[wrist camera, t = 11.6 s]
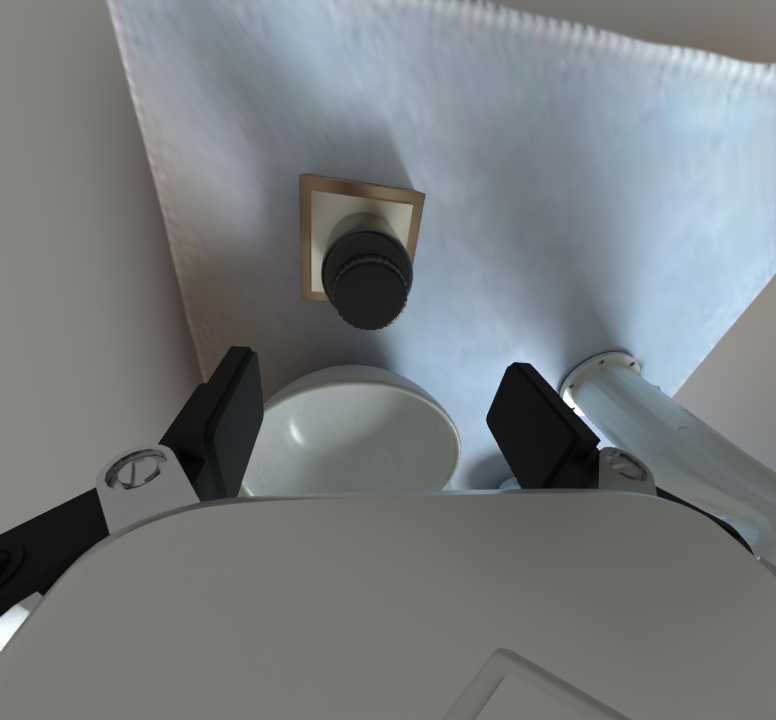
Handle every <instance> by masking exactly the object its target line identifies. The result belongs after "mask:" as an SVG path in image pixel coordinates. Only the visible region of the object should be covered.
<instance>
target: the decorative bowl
mask: <svg viewBox="0 0 776 720" xmlns="http://www.w3.org/2000/svg"><path fill="white" fill-rule="evenodd" d="M263 406H264V418H263V422H262V425H261V428H260V431H259V434H258V437H257V439H256V442H255V445H254V448H253V451H252V454H251V457H250V460H249V463H248V466H247V469H246V472H245V475H244V478H243V481H242V484H241V487H242V488H243V489H244V491H245V492H246V494H247V495H248V496H263V495H287V494H312V493H350V492H390V491H437V490H444V489H445V487H446V486H447V485H448V484H449V482H450V481H451V479H452V478H453V476H454V474H455V472H456V470H457V468H458V465H459V461H460V456H461V441H460V437H459V433H458V430H457V428H456V426H455V424H454V422H453V421H452V419H451V417H450V416H449V415H448V413H447V412H446V411H445V409H444V408H443V407H442V406H441V405H440V404H439V403H438V402H437V401H436V400H435V399H434V398H433V397H432V396H431V395H430V394H429V393H427V392H426V391H425V390H424V389H422V388H421V387H420V386H418V385H417V384H415V383H414V382H412V381H410V380H409V379H407V378H405V377H403V376H401V375H399V374H397V373H394V372H391V371H389V370H385V369H382V368H378V367H373V366H366V365H341V366H334V367H329V368H325V369H321V370H318V371H315V372H312V373H310V374H307V375H305V376H303V377H301V378H299V379H297V380H295V381H293V382H291V383H290V384H288V385H287V386H285V387H284V388H282V389H281V390H280V391H278V392H277V393H276V394H275V395H273V396H272V397H271V398H270V399H269V400H268V401H267V402H266V403H264V404H263Z"/></svg>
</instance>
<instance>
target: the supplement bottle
mask: <svg viewBox="0 0 776 720" xmlns="http://www.w3.org/2000/svg"><path fill="white" fill-rule="evenodd" d="M321 281H322V286H323V289H324V292H325V294H326V296H327V298H328V299H329V301H330V302H331V303H332V305H333V306H334V307H335V308H336V309H337V310H338V313H339V315H340V316H342V318H343V320H345V321H347V322H348V324H350V325H353V326H354V327H356V328H360V329H366V330H376V329H382V328H383V327H386V326H389V324H391V323H394V321H395V320H396V319H398V318H399V315H400V314H402V313H403V309H404V308H405V307H406V304H405V303H406V302H407V297H408V295H409V293H410V290H411V287H412V282H413V267H412V263H411V260H410V257H409V254H408V252H407V251H406V249H405V247H404V246H403V244H402V242H401V241H400V239H399V238H398V236H397V234H396V233H395V231H394V230H393V228H392V227H391V226H390V225H389V224H388V223H387V222H386V221H385V220H384V219H382V218H381V217H379V216H377V215H375V214H372V213H367V212H358V213H353V214H350V215H348V216H346V217H344V218H343V219H341V220H340V221H339V222H338V223H337V224H336V225H335V227H334V228H333V230H332V231H331V233H330V236H329V239H328V242H327V246H326V250H325V254H324V258H323V262H322V267H321Z"/></svg>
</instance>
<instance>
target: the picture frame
mask: <svg viewBox="0 0 776 720" xmlns="http://www.w3.org/2000/svg"><path fill="white" fill-rule="evenodd" d="M299 184H300V232H301V280H302V299H308V300H320V301H329V299H328V298H327V296H326V294H325V292H324V289H323V286H322V281H321V267H322V262H323V258H324V254H325V250H326V246H327V242H328V239H329V236H330V233H331V231H332V230H333V228H334V227H335V225H336V224H337V223H338V222H339V221H340V220H341V219H343V218H344V217H346V216H348V215H350V214H353V213H358V212H367V213H372V214H375V215H377V216H379V217H381V218H382V219H384V220H385V221H386V222H387V223H388V224H389V225H390V226H391V227H392V228H393V230H394V231H395V233H396V234H397V236H398V238H399V239H400V241H401V242H402V244H403V246H404V247H405V249H406V251H407V252H408V254H409V257H410V260H411V263H412V267H413V262H414V256H415V250H416V245H417V239H418V233H419V228H420V222H421V217H422V211H423V205H424V200H425V194H424V193H421V192H418V191H416V190H410V189H403V188H397V187H390V186H383V185H377V184H370V183H364V182H357V181H351V180H344V179H338V178H331V177H324V176H318V175H311V174H302V175H299ZM405 304H406V303H405Z"/></svg>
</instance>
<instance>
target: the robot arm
mask: <svg viewBox="0 0 776 720" xmlns="http://www.w3.org/2000/svg"><path fill="white" fill-rule="evenodd" d="M578 415H584V416H586V417H587V418H588V419H589V420H590V421H591V422H592V423H593V424H594V425H595V426H596V427H597V428H598V429H599V431H600V432H601V433H602V434H603V435H604V436H605V437H606V438H607V439H608V440H609V441H610V442H611V443H612V444H613V445H614V446H615V447H616V448H614V447H604V448H603V449H601V450H600V451H599V450H598V449H597V447H596V446H597V445H598V443H599V442H600V441H601V440H600V439H599V438H598V437H597V436H596V435H595V433H594V432H593V431H592V430H591V429H590V428H589V427H588V426H587V425H586V424H585V423H584V422H583V420H582V419H581V418H580V417H579V416H578ZM263 418H264V406H263V398H262V389H261V381H260V372H259V364H258V356H257V352H252V350H251V348H250V347H238V346H231V347H230V349H229V350H228V352H227V353H226V355H225V356H224V358H223V359H222V361H221V362H220V364H219V365H218V367H217V369H216V370H215V372H214V373H213V375H212V376H211V378H210V379H209V381H208V382H207V383H202V384H200V385H199V386H198V387H197V388H196V390H195V391H194V392H193V394H192V396H191V397H190V398H189V400H188V401H187V403H186V404H185V406H184V407H183V409H182V410H181V411H180V413H179V414H178V416H177V417H176V419H175V420H174V422H173V423H172V424H171V426H170V427H169V429H168V430H167V432H166V433H165V435H164V436H163V437H162V439H161V440H160V442H159V443H158V445H157V444H149V445H142V446H138V447H135V448H132V449H129V450H127V451H125V452H123V453H121V454H119V455H117V456H116V457H115V458H113V459H112V460H110V461H109V462H108V463H107V464H106V465H105V466H104V467H103V468H102V469H101V470H100V472H99V474H98V476H97V478H96V488H94V489H92V490H90V491H87V492H86V493H83V494H81V495H79V496H77V497H75V498H73V499H71V500H69V501H67V502H65V503H63V504H61V505H59V506H57V507H55V508H53V509H51V510H49V511H47V512H45V513H43V514H41V515H39V516H37V517H35V518H33V519H31V520H29V521H27V522H25V523H23V524H21V525H19V526H17V527H15V528H13V529H11V530H9V531H7V532H4V533H2V534H0V720H776V472H775V471H773V470H772V469H770V468H769V467H767V466H766V465H764V464H763V463H761V462H760V461H758V460H757V459H755V458H754V457H753V456H751V455H750V454H748V453H746V452H745V451H744V450H742V449H741V448H740V447H738V446H737V445H735V444H734V443H733V442H731V441H729V440H728V439H727V438H725V437H724V436H723V435H721V434H720V433H719V432H717V431H716V430H714V429H713V428H712V427H710V426H709V425H707V424H706V423H705V422H703V421H702V420H700V419H699V418H698V417H696V416H695V415H694V414H692V413H690V412H689V411H688V410H687V409H685V408H684V407H682V406H681V405H680V404H678V403H677V402H675V401H674V400H673V399H671V398H670V397H669V396H667V395H666V394H664V393H663V392H662V391H661V390H660V387H659V386H656V385H652V384H650V383H649V382H648V381H646V380H645V379H643V378H642V377H641V376H640V365H639V363H638V362H637V360H635V359H634V358H633V357H631V356H630V355H628V354H626V353H623V352H607V353H603V354H600V355H597V356H595V357H592V358H590V359H588V360H587V361H585V362H583V363H582V364H580V365H579V366H578V367H577V368H575V369H574V370H573V371H572V372H571V373H570V374H569V376H568V377H567V378H566V380H565V381H564V383H563V385H562V387H561V390H560V395H559V394H558V393H557V392H556V391H555V390H554V389H553V388H552V387H551V386H550V385H549V383H548V382H547V381H546V380H545V379H544V378H543V377H542V376H541V375H540V374H539V373H538V372H537V370H536V369H535V368H534V367H533V366H532V365H531V364H530V363H519V362H514V363H513V364H511V366H508V367H507V369H506V371H505V374H504V376H503V378H502V381H501V383H500V386H499V388H498V390H497V393H496V395H495V398H494V400H493V402H492V405H491V407H490V409H489V412H488V414H487V418H486V422H487V425H488V427H489V429H490V431H491V433H492V435H493V436H494V438H495V440H496V442H497V444H498V446H499V448H500V449H501V451H502V453H503V455H504V457H505V459H506V461H507V463H508V464H509V466H510V468H511V470H512V472H513V474H514V476H515V477H516V479H517V481H518V483H519V485H520V487H521V489H491V490H437V491H390V492H350V493H312V494H287V495H263V496H248V497H237V495H238V493H239V490H240V486H241V484H242V481H243V478H244V475H245V472H246V469H247V466H248V463H249V460H250V457H251V454H252V451H253V448H254V445H255V442H256V439H257V437H258V434H259V431H260V428H261V425H262V422H263ZM709 513H710V514H709ZM711 514H714V515H716V516H718V517H719V518H717V517H715V516H713V515H711Z"/></svg>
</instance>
